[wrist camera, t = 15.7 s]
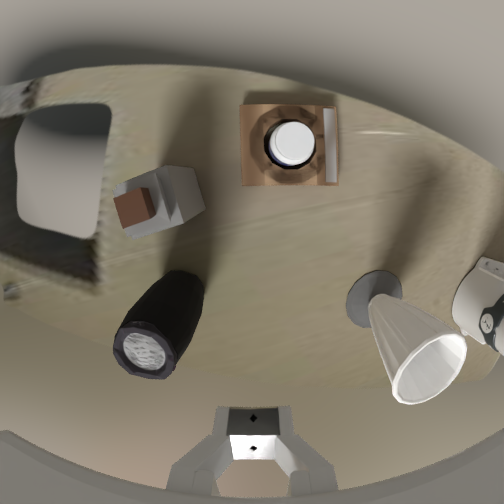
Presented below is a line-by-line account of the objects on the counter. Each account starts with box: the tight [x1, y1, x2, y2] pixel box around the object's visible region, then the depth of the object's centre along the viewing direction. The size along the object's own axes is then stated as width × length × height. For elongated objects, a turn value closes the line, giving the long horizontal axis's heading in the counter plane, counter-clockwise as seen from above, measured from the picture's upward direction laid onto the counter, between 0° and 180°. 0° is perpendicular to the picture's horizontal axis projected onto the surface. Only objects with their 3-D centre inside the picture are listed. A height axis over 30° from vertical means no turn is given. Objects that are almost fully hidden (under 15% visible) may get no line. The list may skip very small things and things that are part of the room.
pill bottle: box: [268, 122, 314, 166], centre depth 35 cm, size 6×6×10 cm
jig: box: [240, 104, 339, 186], centre depth 39 cm, size 14×12×3 cm
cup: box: [346, 271, 467, 405], centre depth 36 cm, size 12×12×22 cm
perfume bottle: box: [113, 165, 206, 240], centre depth 34 cm, size 7×7×18 cm
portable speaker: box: [113, 270, 204, 379], centre depth 37 cm, size 9×9×20 cm
